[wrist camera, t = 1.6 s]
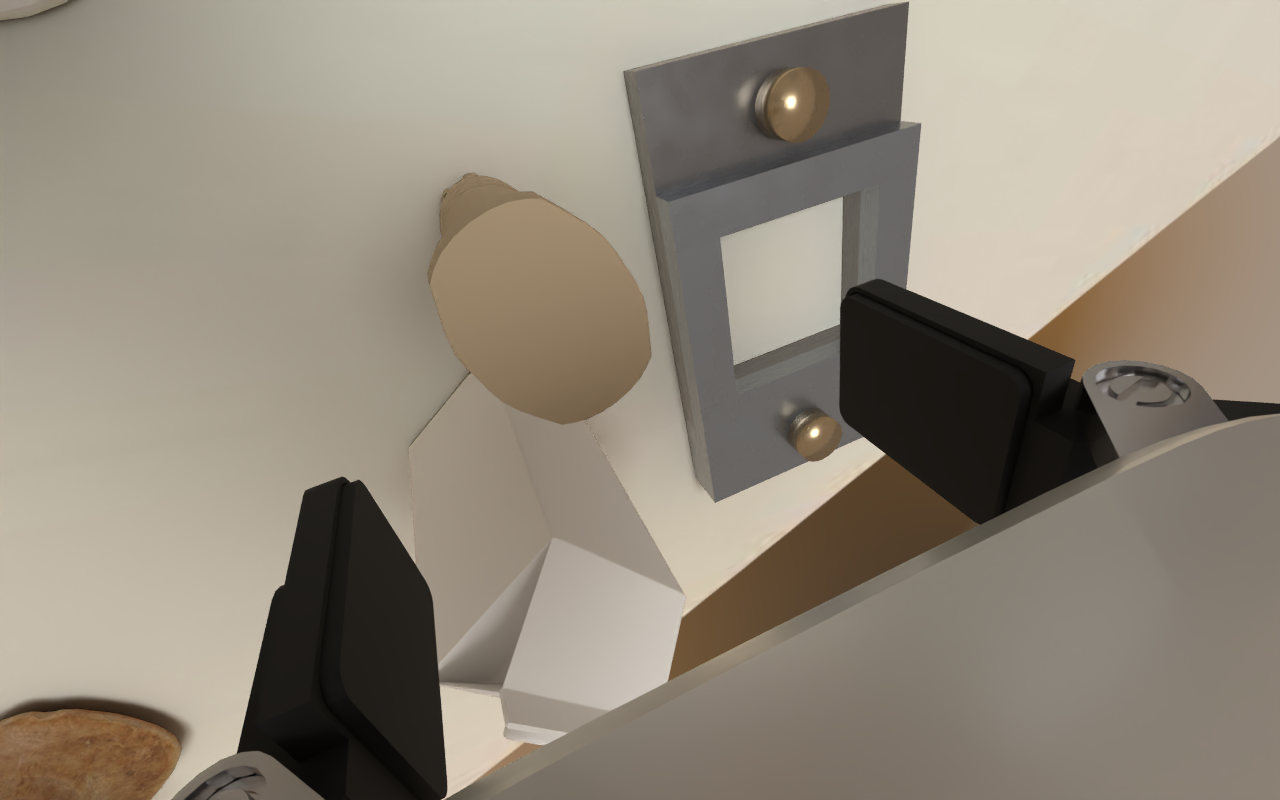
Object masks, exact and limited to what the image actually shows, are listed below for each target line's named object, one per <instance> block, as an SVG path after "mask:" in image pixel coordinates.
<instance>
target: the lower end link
mask: <svg viewBox="0 0 1280 800" xmlns="http://www.w3.org/2000/svg"><path fill="white" fill-rule="evenodd" d="M908 8H909V2H903V3H895V4H887V5H883V6H879V7H876V8H872V9H868V10H864V11H860V12H856V13H852V14H848V15H844V16H840V17H836V18H832V19H828V20H824V21H820V22H816V23H812V24H808V25H804V26H800V27H797V28H793V29H789V30H785V31H781V32H777V33H773V34H769V35H765V36H761V37H757V38H753V39H749V40H745V41H741V42H737V43H733V44H729V45H725V46H721V47H718V48H714V49H710V50H706V51H702V52H698V53H694V54H690V55H686V56H682V57H678V58H674V59H670V60H666V61H662V62H658V63H654V64H650V65H646V66H642V67H639V68H635V69H631V70H627V71H624V76H625V82H626V87H627V93H628V99H629V104H630V110H631V116H632V121H633V127H634V132H635V138H636V144H637V149H638V155H639V161H640V166H641V172H642V178H643V183H644V189H645V194H646V200H647V206H648V211H649V217H650V223H651V228H652V234H653V240H654V245H655V251H656V257H657V262H658V268H659V273H660V279H661V285H662V290H663V296H664V302H665V307H666V313H667V319H668V324H669V330H670V335H671V341H672V347H673V352H674V358H675V364H676V369H677V375H678V381H679V386H680V392H681V397H682V403H683V409H684V414H685V418H686V419H687V420H688V422H689V423H690V424H691V425H692V426H693V427H694V429H695V426H694V420H693V414H692V408H691V402H690V396H689V390H688V384H687V378H686V372H685V366H684V360H683V354H682V348H681V342H680V336H679V330H678V324H677V318H676V312H675V306H674V300H673V294H672V288H671V282H670V276H669V270H668V264H667V258H666V253H665V247H664V241H663V235H662V229H661V223H660V217H659V211H658V205H657V199H656V196H659V195H662V194H666V193H669V192H672V191H675V190H679V189H682V188H685V187H688V186H692V185H695V184H698V183H701V182H705V181H708V180H711V179H714V178H718V177H721V176H724V175H727V174H731V173H734V172H737V171H740V170H743V169H747V168H750V167H753V166H756V165H760V164H763V163H766V162H769V161H773V160H776V159H779V158H782V157H786V156H789V155H792V154H795V153H799V152H802V151H805V150H808V149H812V148H815V147H818V146H821V145H825V144H828V143H831V142H834V141H838V140H841V139H844V138H847V137H851V136H854V135H857V134H860V133H864V132H867V131H870V130H873V129H877V128H880V127H883V126H886V125H890V124H893V123H896V122H899V121H900V120H901V106H902V92H903V78H904V64H905V50H906V36H907V22H908ZM860 205H861V190H860V191H857V192H854V193H851V194H848V195H845V196H844V207H843V256H842V300H843V299H844V298H845V297H846V294H847V291H848V290H849V289H850V288H852V287H855V286H857V285H858V258H859V231H860ZM838 339H840V325H838V326H835V327H833V328H830V329H828V330H825V331H823V332H820V333H817V334H815V335H812V336H810V337H807V338H805V339H802V340H799V341H797V342H794V343H792V344H789V345H787V346H784V347H782V348H779V349H776V350H774V351H771V352H769V353H766V354H764V355H761V356H758V357H756V358H753V359H751V360H748V361H746V362H743V363H741V364H738V365H735V366H734V373H735V380H737V379H739V378H742V377H745V376H747V375H750V374H752V373H755V372H757V371H760V370H762V369H765V368H767V367H770V366H772V365H775V364H777V363H780V362H782V361H785V360H787V359H790V358H792V357H795V356H797V355H800V354H803V353H805V352H808V351H810V350H813V349H815V348H818V347H820V346H823V345H825V344H828V343H830V342H833V341H835V340H838Z"/></svg>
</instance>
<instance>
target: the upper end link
mask: <svg viewBox="0 0 1280 800" xmlns="http://www.w3.org/2000/svg"><path fill="white" fill-rule="evenodd" d="M920 131H921V123H914V122H904V121H899V122H896V123H893V124H890V125H886V126H883V127H880V128H877V129H873V130H870V131H867V132H864V133H860V134H857V135H854V136H851V137H847V138H844V139H841V140H838V141H834V142H831V143H828V144H825V145H821V146H818V147H815V148H812V149H808V150H805V151H802V152H799V153H795V154H792V155H789V156H786V157H782V158H779V159H776V160H773V161H769V162H766V163H763V164H760V165H756V166H753V167H750V168H747V169H743V170H740V171H737V172H734V173H731V174H727V175H724V176H721V177H718V178H714V179H711V180H708V181H705V182H701V183H698V184H695V185H692V186H688V187H685V188H682V189H679V190H675V191H672V192H669V193H666V194H662V195H659V196H656V199H657V205H658V211H659V217H660V223H661V229H662V235H663V241H664V247H665V253H666V258H667V264H668V270H669V276H670V282H671V288H672V294H673V300H674V306H675V312H676V318H677V324H678V330H679V336H680V342H681V348H682V354H683V360H684V366H685V372H686V378H687V384H688V390H689V396H690V402H691V408H692V414H693V420H694V426H695V429H694V427H693V426H692V425H691V424H690V423H689V422H688V420H687V419H686V418H685V420H686V426H687V431H688V437H689V443H690V448H691V454H692V460H693V465H694V471H695V476H696V478H697V480H698V481H699V482H700V484H701V485H702V486H703V487H704V489H705V490H706V491H707V493H708V494H709V495H710V497H711V498H712V499H713V501H714V502H715V503H716V502H718V501H720V500H722V499H725V498H727V497H729V496H731V495H734V494H736V493H738V492H740V491H743V490H745V489H747V488H749V487H752V486H754V485H756V484H758V483H761V482H763V481H765V480H767V479H770V478H772V477H774V476H776V475H779V474H781V473H783V472H785V471H788V470H790V469H792V468H794V467H797V466H799V465H801V464H803V463H806V462H808V461H819V460H822V459H824V458H826V457H827V456H829V455H830V454H831V453H832V452H833V451H834V450H835V449H837V448H839V447H842V446H844V445H846V444H848V443H851V442H853V441H855V440H857V439H860V438H862V437H863V436H862V435H861V434H859V433H858V432H857V431H855V430H854V429H853V428H852V427H850V426H849V425H848V424H847V423H846V422H845V421H844V420H843V418H842V416H841V413H840V409H839V387H840V339H838V340H835V341H833V342H830V343H828V344H825V345H823V346H820V347H818V348H815V349H813V350H810V351H808V352H805V353H803V354H800V355H797V356H795V357H792V358H790V359H787V360H785V361H782V362H780V363H777V364H775V365H772V366H770V367H767V368H765V369H762V370H760V371H757V372H755V373H752V374H750V375H747V376H745V377H742V378H739V379H737V380H735V373H734V364H733V354H732V345H731V336H730V327H729V317H728V308H727V299H726V290H725V280H724V271H723V262H722V253H721V243H720V237H723V236H726V235H729V234H732V233H735V232H738V231H741V230H744V229H747V228H750V227H753V226H756V225H759V224H762V223H765V222H768V221H771V220H774V219H777V218H780V217H783V216H786V215H789V214H792V213H795V212H798V211H801V210H804V209H807V208H810V207H813V206H816V205H819V204H822V203H825V202H827V201H830V200H833V199H836V198H839V197H842V196H845V195H848V194H851V193H854V192H857V191H860V190H861V205H860V231H859V258H858V285H860V284H863V283H865V282H868V281H871V280H874V279H882V280H885V281H887V282H890V283H892V284H894V285H897V286H899V287H902V288H904V289H906V285H907V274H908V263H909V252H910V241H911V230H912V219H913V208H914V197H915V186H916V175H917V164H918V153H919V142H920Z"/></svg>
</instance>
